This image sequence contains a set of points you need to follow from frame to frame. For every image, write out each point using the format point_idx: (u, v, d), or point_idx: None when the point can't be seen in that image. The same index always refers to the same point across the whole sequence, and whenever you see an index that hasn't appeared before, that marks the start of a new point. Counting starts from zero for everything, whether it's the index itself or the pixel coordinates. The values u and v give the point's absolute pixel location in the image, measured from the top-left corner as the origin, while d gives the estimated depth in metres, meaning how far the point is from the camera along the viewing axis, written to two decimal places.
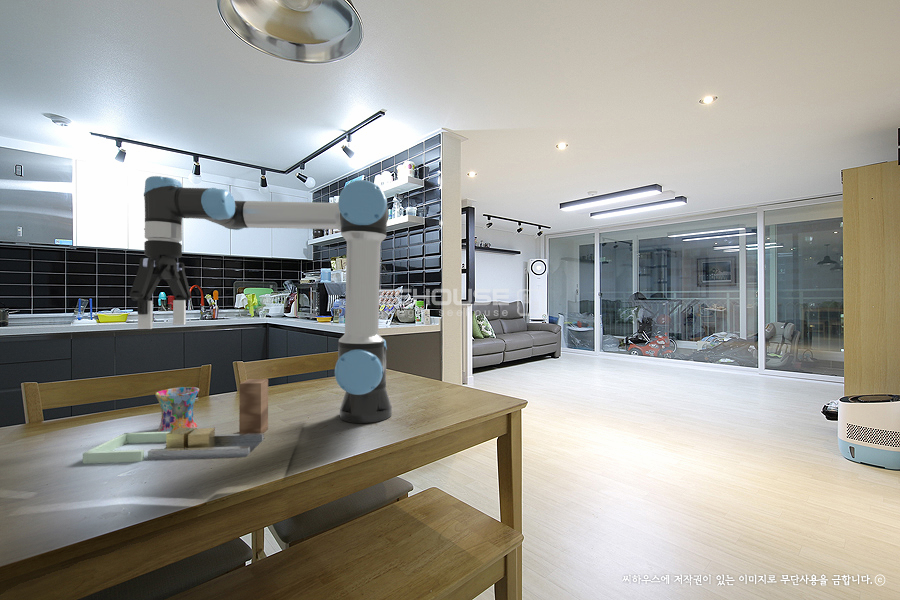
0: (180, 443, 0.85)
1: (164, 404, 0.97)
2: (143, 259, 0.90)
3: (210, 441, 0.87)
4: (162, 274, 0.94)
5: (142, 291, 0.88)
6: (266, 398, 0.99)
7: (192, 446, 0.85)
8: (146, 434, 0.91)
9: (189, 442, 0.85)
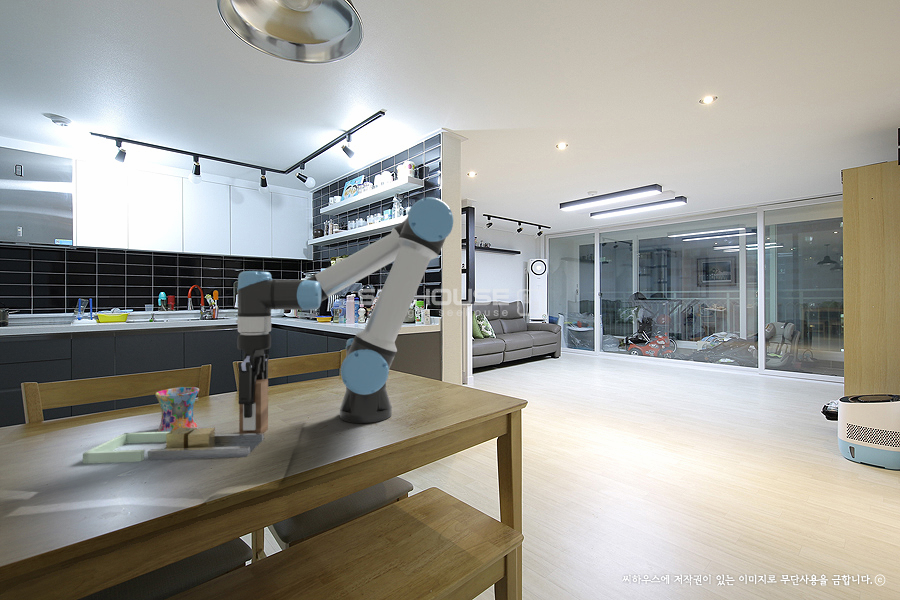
0: (180, 443, 0.85)
1: (164, 404, 0.97)
2: (241, 365, 0.91)
3: (210, 441, 0.87)
4: (257, 371, 0.96)
5: (249, 398, 0.92)
6: (266, 398, 0.99)
7: (192, 446, 0.85)
8: (146, 434, 0.91)
9: (189, 442, 0.85)
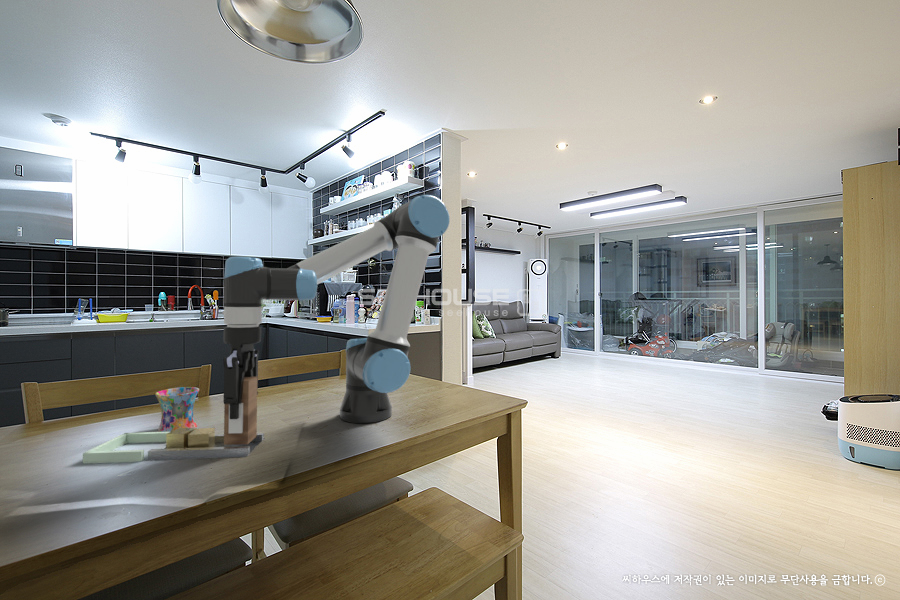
0: (180, 443, 0.85)
1: (164, 404, 0.97)
2: (226, 360, 0.82)
3: (210, 441, 0.87)
4: (245, 367, 0.86)
5: (235, 397, 0.82)
6: (255, 397, 0.90)
7: (192, 446, 0.85)
8: (146, 434, 0.91)
9: (189, 442, 0.85)
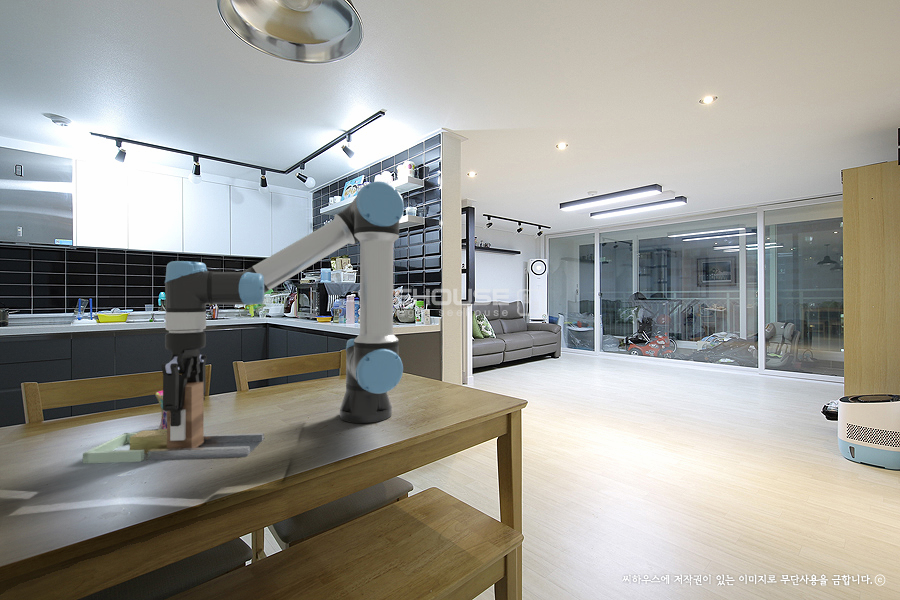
0: (146, 445, 0.85)
1: None
2: (165, 366, 0.80)
3: None
4: (188, 373, 0.85)
5: (175, 404, 0.81)
6: (200, 403, 0.89)
7: (152, 447, 0.84)
8: None
9: (149, 443, 0.84)
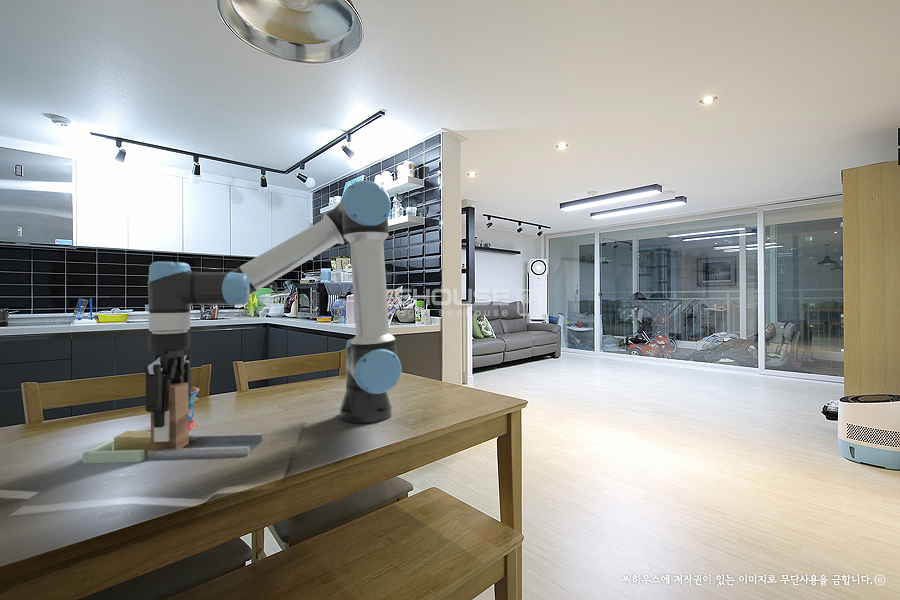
0: (130, 446, 0.84)
1: None
2: (148, 367, 0.80)
3: None
4: (171, 374, 0.85)
5: (158, 405, 0.81)
6: (185, 404, 0.88)
7: (136, 449, 0.84)
8: None
9: (133, 445, 0.84)
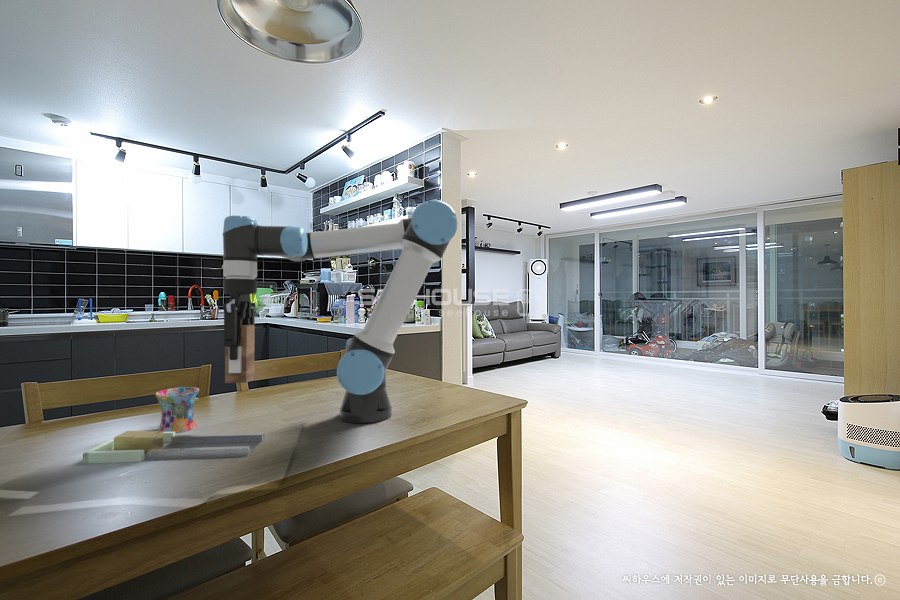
0: (130, 446, 0.84)
1: (164, 404, 0.97)
2: (226, 306, 0.92)
3: (155, 445, 0.86)
4: (243, 315, 0.96)
5: (234, 339, 0.93)
6: (252, 343, 1.00)
7: (136, 449, 0.84)
8: None
9: (133, 445, 0.84)
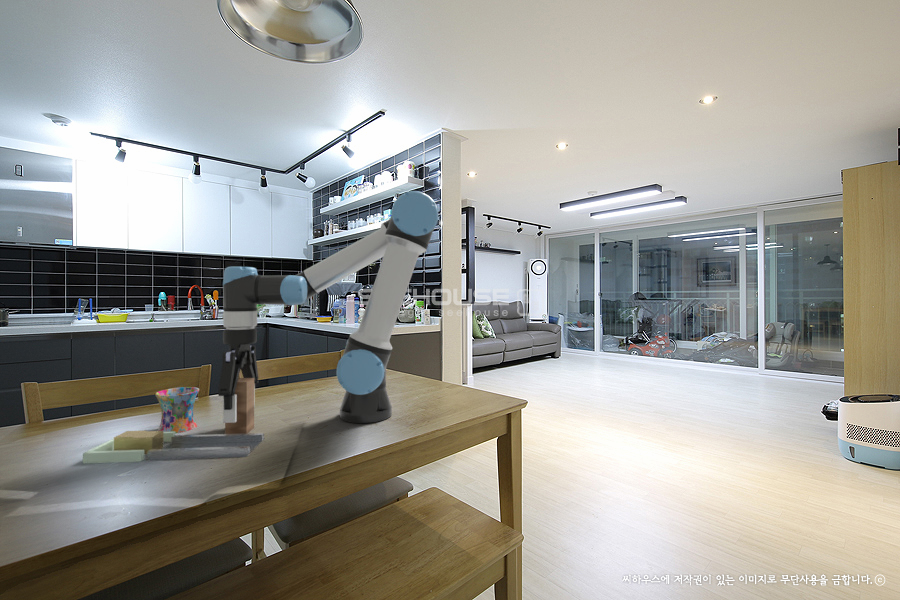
0: (130, 446, 0.84)
1: (164, 404, 0.97)
2: (225, 354, 0.92)
3: (155, 445, 0.86)
4: (242, 364, 0.96)
5: (229, 389, 0.90)
6: (252, 397, 1.00)
7: (136, 449, 0.84)
8: None
9: (133, 445, 0.84)
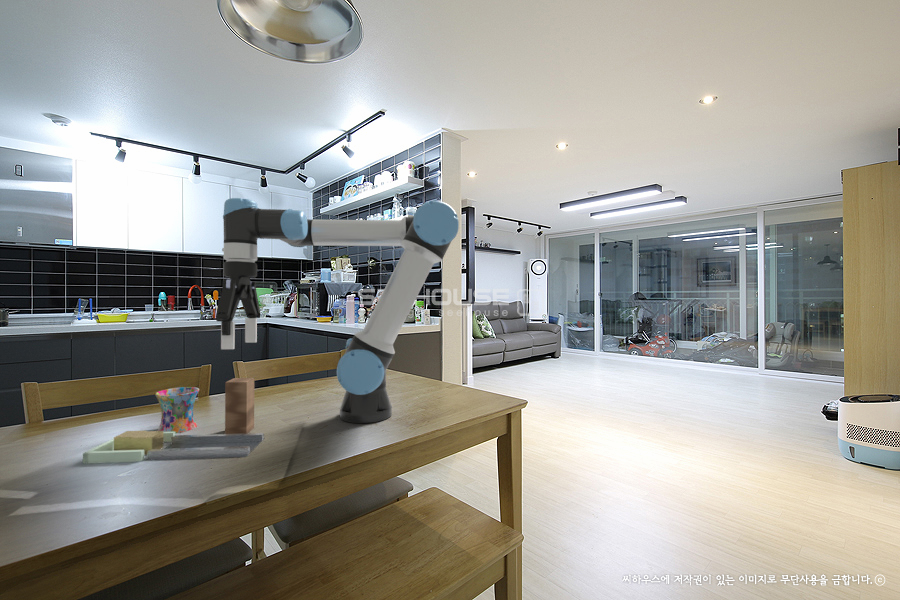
0: (130, 446, 0.84)
1: (164, 404, 0.97)
2: (226, 280, 0.92)
3: (155, 445, 0.86)
4: (241, 294, 0.95)
5: (227, 313, 0.89)
6: (252, 397, 1.00)
7: (136, 449, 0.84)
8: None
9: (133, 445, 0.84)
